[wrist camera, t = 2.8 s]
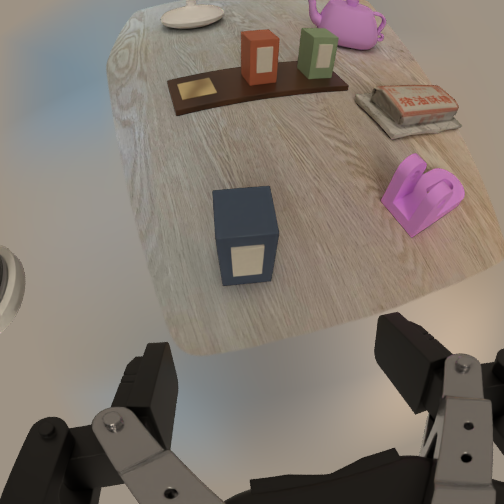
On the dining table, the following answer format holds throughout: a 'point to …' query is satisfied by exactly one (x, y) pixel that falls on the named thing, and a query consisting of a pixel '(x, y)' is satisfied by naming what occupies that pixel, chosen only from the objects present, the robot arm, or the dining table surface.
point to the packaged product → (410, 109)
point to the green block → (317, 52)
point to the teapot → (349, 23)
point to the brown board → (243, 87)
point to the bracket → (421, 194)
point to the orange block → (259, 56)
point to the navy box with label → (245, 234)
